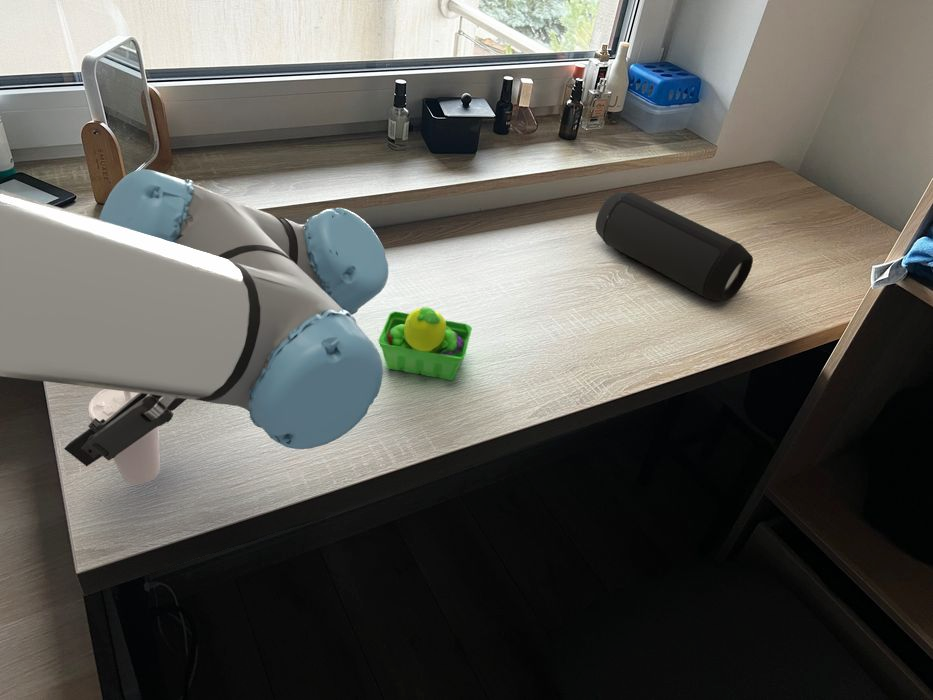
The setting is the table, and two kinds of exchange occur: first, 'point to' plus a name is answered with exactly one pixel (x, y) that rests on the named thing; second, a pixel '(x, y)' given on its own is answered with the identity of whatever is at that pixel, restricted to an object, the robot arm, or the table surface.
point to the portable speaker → (674, 245)
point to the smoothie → (140, 456)
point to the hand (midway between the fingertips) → (99, 430)
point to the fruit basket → (424, 343)
